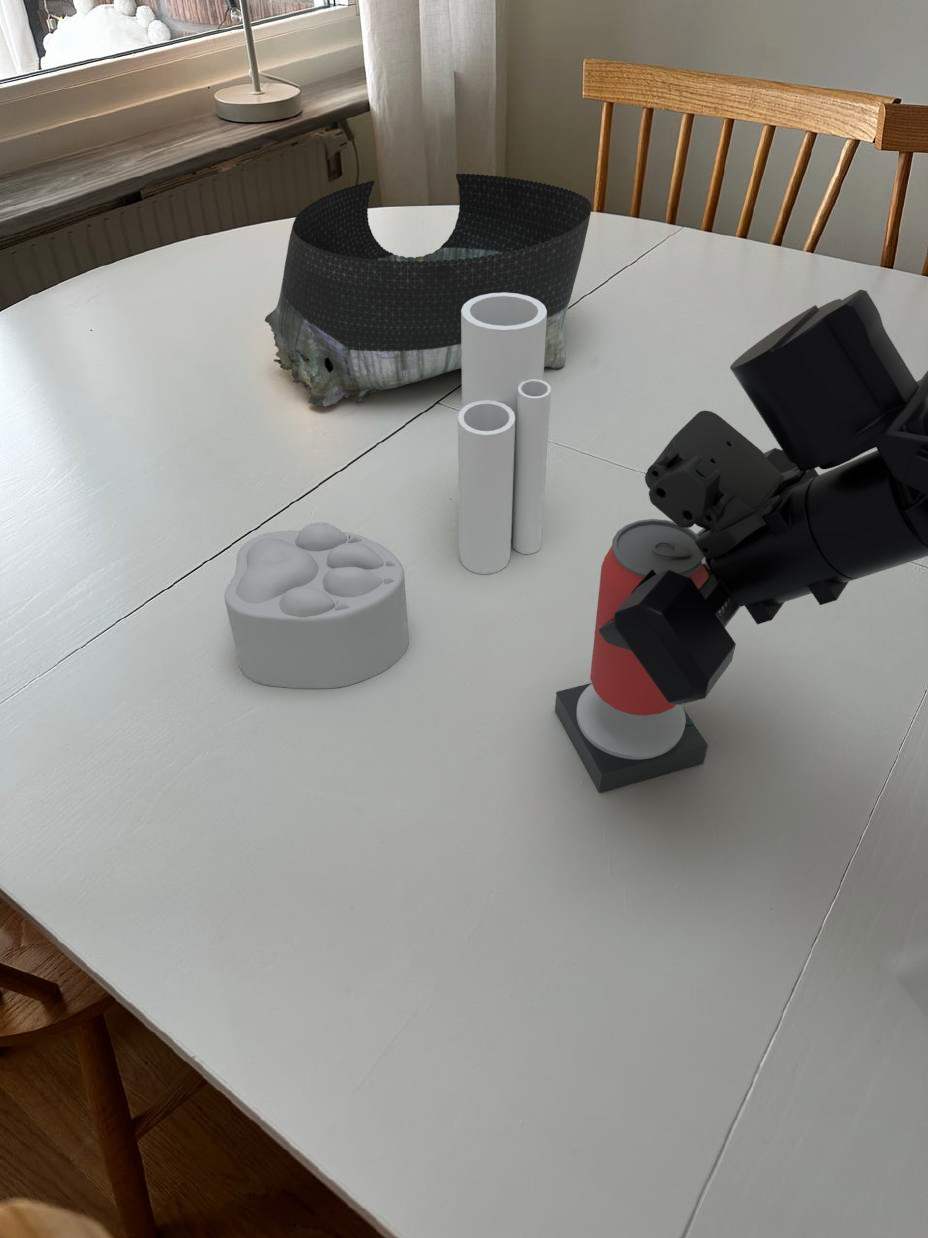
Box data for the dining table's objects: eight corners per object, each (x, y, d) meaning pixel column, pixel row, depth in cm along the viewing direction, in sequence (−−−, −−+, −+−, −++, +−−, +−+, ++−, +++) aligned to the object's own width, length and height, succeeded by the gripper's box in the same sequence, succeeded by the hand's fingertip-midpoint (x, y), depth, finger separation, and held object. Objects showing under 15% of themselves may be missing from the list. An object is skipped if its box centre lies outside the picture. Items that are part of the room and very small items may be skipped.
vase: (463, 495, 92) (461, 291, 78) (540, 497, 92) (551, 292, 78) (458, 573, 84) (455, 360, 70) (542, 575, 83) (556, 362, 70)
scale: (652, 684, 74) (656, 661, 72) (703, 763, 68) (709, 740, 67) (554, 710, 72) (556, 686, 71) (599, 793, 67) (602, 770, 65)
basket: (296, 297, 123) (279, 162, 112) (574, 296, 123) (584, 161, 112) (260, 416, 103) (234, 265, 92) (594, 415, 102) (608, 263, 91)
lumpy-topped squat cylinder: (258, 596, 82) (241, 512, 76) (413, 598, 81) (408, 515, 75) (232, 687, 74) (211, 602, 68) (403, 690, 74) (397, 605, 68)
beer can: (679, 730, 63) (707, 590, 55) (580, 709, 65) (593, 569, 57) (693, 661, 68) (721, 522, 60) (600, 642, 70) (614, 505, 61)
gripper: (825, 325, 55) (630, 436, 67) (672, 484, 43) (472, 582, 56) (926, 488, 56) (718, 566, 69) (804, 679, 45) (583, 733, 58)
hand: (630, 604), depth 63 cm, fingers closed on beer can, 6 cm apart
